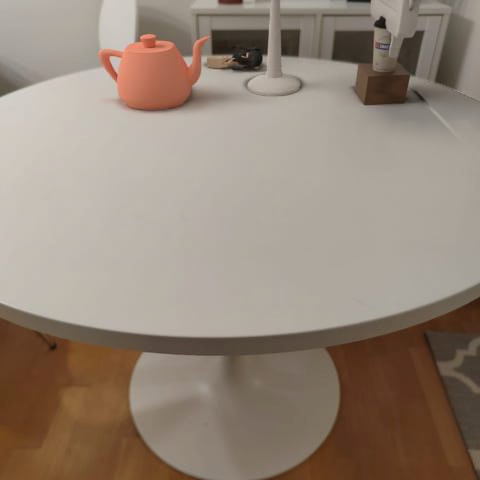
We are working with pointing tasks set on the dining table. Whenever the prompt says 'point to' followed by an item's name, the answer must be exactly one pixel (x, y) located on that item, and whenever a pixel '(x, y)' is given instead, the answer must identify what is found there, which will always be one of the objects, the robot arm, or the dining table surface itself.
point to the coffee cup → (382, 48)
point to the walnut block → (381, 85)
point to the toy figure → (238, 59)
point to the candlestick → (274, 63)
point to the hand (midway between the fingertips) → (386, 51)
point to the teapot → (153, 73)
